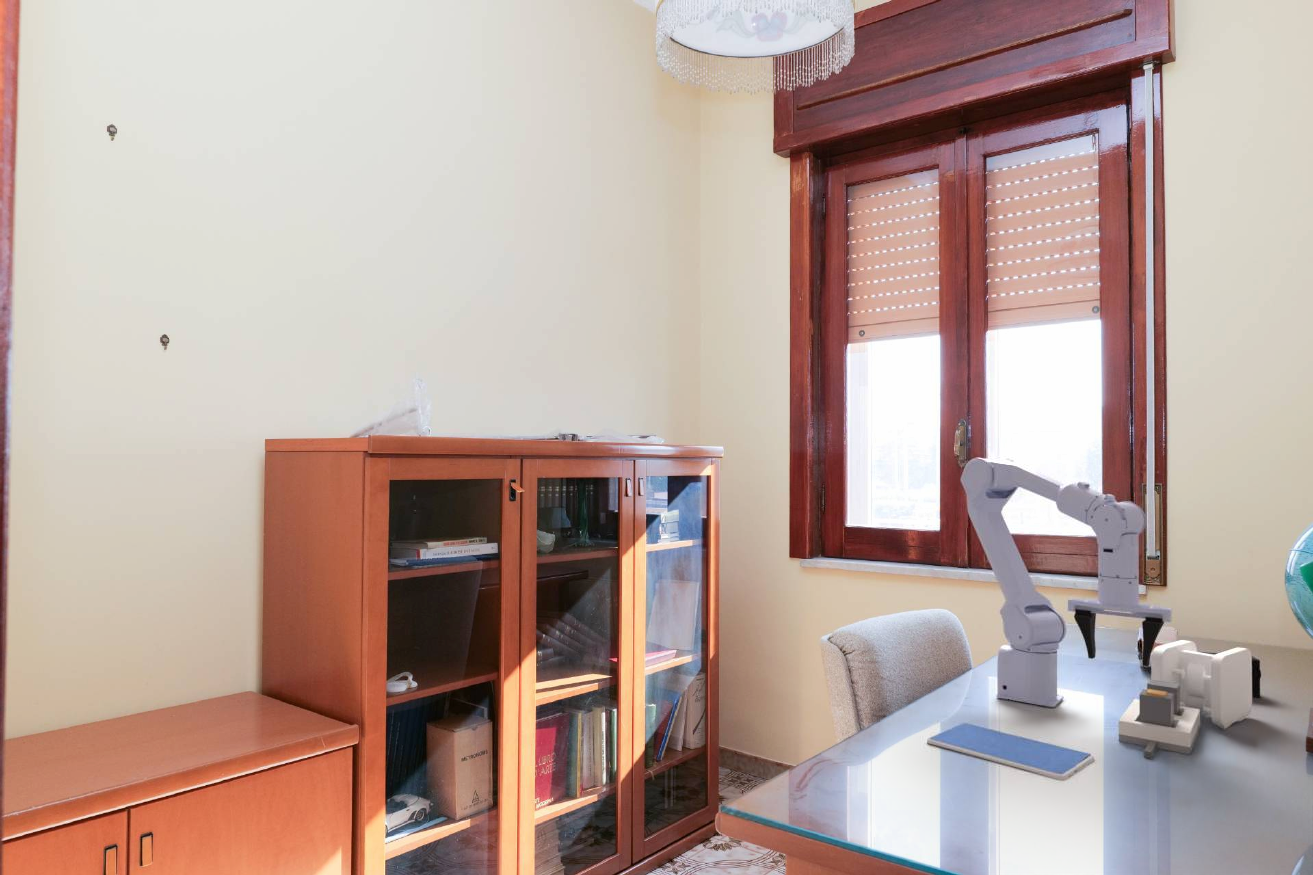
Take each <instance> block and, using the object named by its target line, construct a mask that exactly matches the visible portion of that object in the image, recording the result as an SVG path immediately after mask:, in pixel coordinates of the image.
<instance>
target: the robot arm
mask: <svg viewBox="0 0 1313 875" xmlns="http://www.w3.org/2000/svg"><path fill="white" fill-rule="evenodd" d="M960 483H961V484H962V487H963V489H964V491H965V494H966V505H967V513H968V516H969V519H970V521H971V523H972V526H973V527H974V530H975V532H976V535H977V537H978V539H979V542H980V544H981V546H982V548H983V551H984V553H985V555H986V557H987V561H988V563H989V564H990V568H991V569H992V571H993V573H994V577H995V579H996V581H997V583H998V585H999V588H1000V590H1001V592H1002V594H1003V597H1004V600H1005V601H1004V603H1003V604H1002V605H1001V607H1000V609H999V610H1000V611H999V614H1000V617H1001V618H1002V628H1003V634H1004V637H1005V639H1006V640H1007V642H1008V643H1009V645H1007V644H1004V645H1001V646H1000V647H999V650H998V655H997V664H996V666H997V674H996V675H997V679H996V681H997V682H996V683H997V692H996V693H997V694H995V695H996V698H998V699H1003V700H1008V699H1009V700H1010V701H1014V702H1020V703H1021V702H1022V703H1027V704H1030V705H1032V704H1033V705H1037V706H1044V707H1048V708H1055V707H1056V706H1057V705H1058V704H1059V703H1060V702H1061V701H1062V700H1064V698H1065V697H1064V695H1062V694H1061V695H1060V694H1058V650H1060V643H1061V642H1063V641H1064V639H1065V637H1066V634H1067V624H1066V621H1065V619H1064V617H1063V616H1062V615H1061V614H1060V613H1059V612H1058V611H1057V610H1056V609H1055V607H1053V604H1052V602H1051V600H1050V599H1049V598H1047V597H1046V596H1045V595H1044V594H1042V593H1040V592H1039V591H1038V590H1037V589H1036V587H1035V584H1034V582H1033V580H1032V577H1031V576H1030V573H1029V571H1028V569H1027V566H1026V565H1025V562H1024V560H1023V559H1022V558H1023V557H1022V556H1021V554H1020V552H1019V549H1018V547H1017V545H1016V543H1015V540H1014V538H1013V535H1012V534H1011V531H1010V529H1009V527H1008V525H1007V522H1006V521H1005V518H1004V516H1003V514H1002V511H1003V509H1004V507H1005V506H1006V505H1007V503H1008V502H1009V501H1010V500H1011V498H1012V497H1013V495H1014V494H1015V493H1016V492H1017V490H1018V489H1019V488H1021V489H1024V490H1027V491H1028V492H1031V493H1034V494H1035V495H1039V496H1041V497H1043V498H1045V499H1048V500H1049V501H1052V502H1054V503H1055V505H1056V508H1057V510H1058V511H1059V512H1060V513H1062V514H1064V515H1066V516H1068V517H1070V518H1072V519H1074V520H1076V521H1078V522H1081V523H1083V524H1084V525H1087V526H1089V527H1090V528H1091V529H1092V531H1093V533H1094V534H1095V535H1096V544H1097V546H1098V547H1097V548H1098V549H1097V550H1098V551H1097V554H1098V556H1097V558H1098V561H1097V562H1098V564H1097V566H1098V569H1097V571H1098V573H1097V574H1098V575H1097V577H1098V578H1097V580H1098V584H1097V585H1098V588H1097V589H1098V593H1097V599H1085V598H1083V599H1081V598H1068V599H1067V612H1074V615H1073V617H1074V621H1075V622H1076V624H1077V627H1078V628H1079V630H1080V632H1081V634H1082V638H1083V640H1084V643H1085V647H1086V651H1087V657H1088V659H1092V660H1093V659H1095V658H1096V653H1097V652H1096V651H1097V650H1096V636H1095V635H1096V620H1097V619H1096V618H1097V614H1099V615H1107V616H1109V615H1110V616H1115V617H1116V616H1118V617H1126V618H1137V619H1144V620H1143V621H1142V622H1141V623H1142V624H1141V626H1142V640H1143V641H1142V644H1143V645H1142V661H1141V662H1142V666H1143V667H1149V665H1150V662H1151V661H1150V656H1151V653H1152V652H1153V649H1154V645H1155V643H1156V640H1157V638H1158V635H1159V633H1160V631H1161V630H1162V628H1163V626H1164V624H1165V622H1166V623H1171V622H1172V620H1173V618H1172V617H1173V616H1172V614H1173V612H1172V610H1173V609H1172V608H1169V607H1160V606H1154V605H1147V604H1141V603H1139V602H1140V601H1139V600H1140V599H1139V598H1140V593H1139V592H1140V591H1139V590H1140V589H1139V588H1140V586H1139V584H1140V581H1139V580H1140V576H1139V575H1140V573H1139V572H1140V570H1139V563H1140V562H1139V555H1140V553H1139V548H1140V545H1139V542H1140V541H1139V535H1140V534H1142V533H1143V532H1144V530H1145V528H1146V525H1147V518H1146V517H1147V516H1146V514H1145V511H1143V509H1142V508H1141V507H1140V505H1137V504H1135V502H1134V501H1130V500H1129V501H1126V500H1124V501H1120V502H1118V501H1117V500H1116V496H1115V495H1113V494H1110V493H1106V494H1104V493H1102V492H1099V491H1098V490H1096V489H1092V488H1091V487H1090V486H1091V484H1090V483H1088V482H1086V481H1078V482H1074V481H1073V482H1069V483H1067V484H1064V483H1062V482H1060V481H1058V480H1055V479H1054V478H1052V477H1050V476H1048V475H1046V474H1044V473H1042V472H1041V471H1038V470H1035V469H1034V468H1032V467H1031V466H1029V465H1027V464H1025V463H1023V462H1018V461H1015V460H1014V459H1011V458H1006V459H995V458H993V459H992V458H991V459H990V458H982V457H975V458H974V457H973V458H972V459H970V460H968V462H967V463H966V464H965V466H964V468H963V471H962V474H961V476H960Z"/></svg>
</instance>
